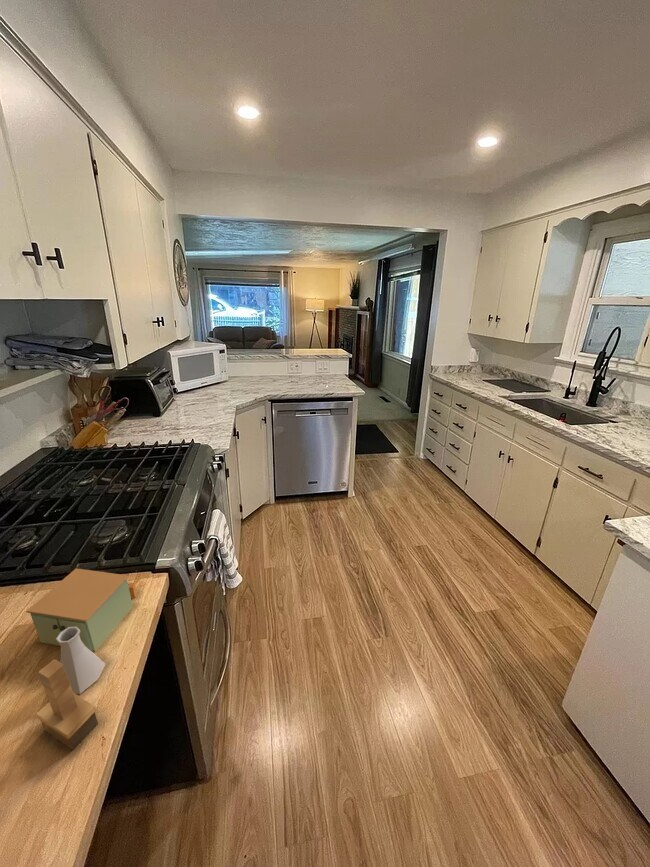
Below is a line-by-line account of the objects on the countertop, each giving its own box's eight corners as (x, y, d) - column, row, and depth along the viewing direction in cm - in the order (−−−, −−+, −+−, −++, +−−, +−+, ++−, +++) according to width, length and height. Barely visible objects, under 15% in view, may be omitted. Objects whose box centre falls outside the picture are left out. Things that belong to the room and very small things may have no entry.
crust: (133, 587, 80) (134, 582, 81) (119, 589, 79) (120, 584, 80) (135, 597, 81) (136, 592, 82) (121, 600, 80) (123, 595, 81)
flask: (45, 690, 61) (29, 648, 58) (82, 653, 68) (69, 613, 64) (80, 701, 60) (66, 658, 56) (113, 661, 66) (103, 621, 63)
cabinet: (35, 645, 69) (23, 612, 66) (84, 598, 80) (75, 568, 77) (93, 656, 67) (83, 622, 64) (135, 605, 78) (128, 575, 76)
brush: (72, 752, 53) (50, 692, 48) (42, 731, 55) (18, 671, 51) (100, 722, 57) (82, 664, 52) (70, 703, 59) (51, 646, 55)
